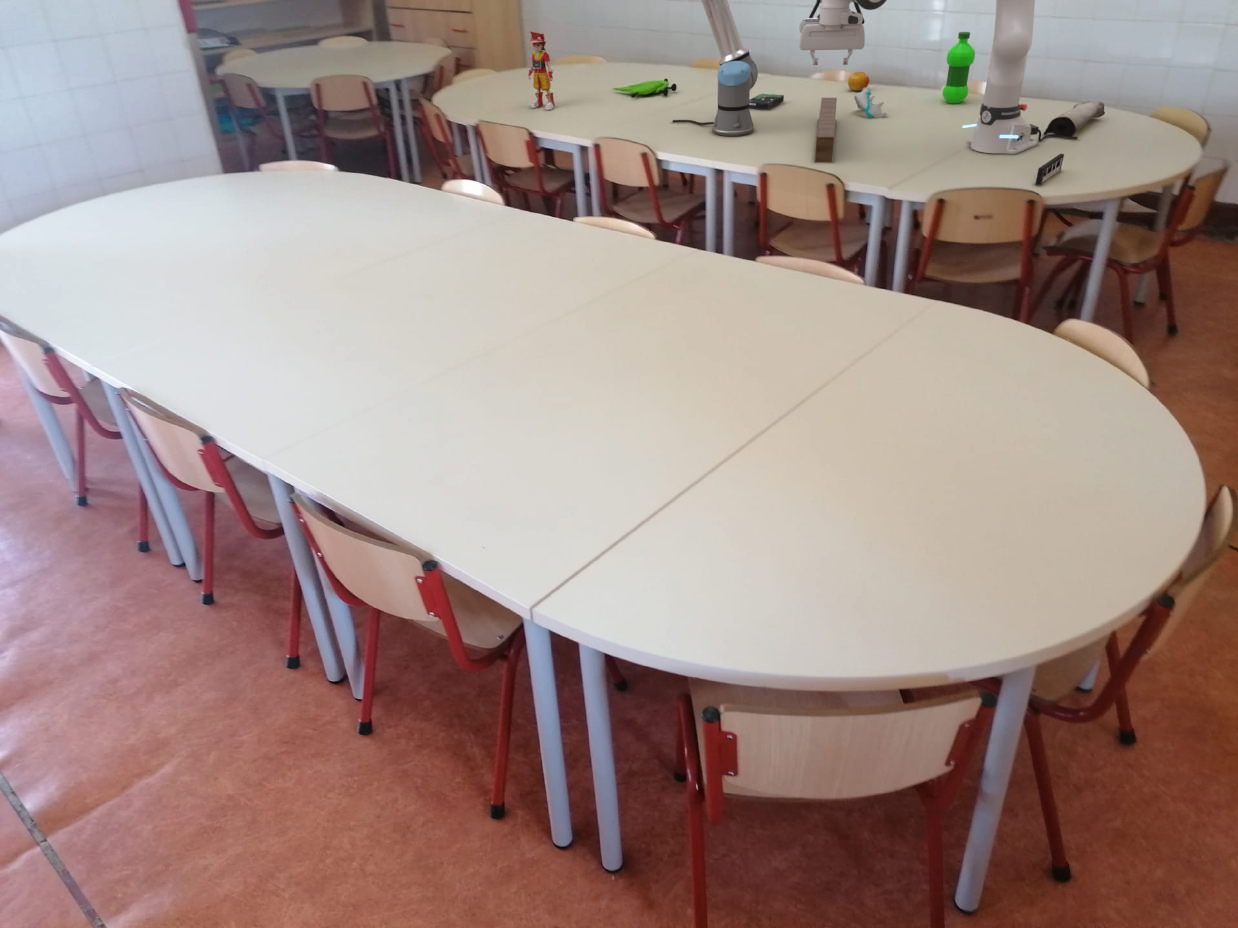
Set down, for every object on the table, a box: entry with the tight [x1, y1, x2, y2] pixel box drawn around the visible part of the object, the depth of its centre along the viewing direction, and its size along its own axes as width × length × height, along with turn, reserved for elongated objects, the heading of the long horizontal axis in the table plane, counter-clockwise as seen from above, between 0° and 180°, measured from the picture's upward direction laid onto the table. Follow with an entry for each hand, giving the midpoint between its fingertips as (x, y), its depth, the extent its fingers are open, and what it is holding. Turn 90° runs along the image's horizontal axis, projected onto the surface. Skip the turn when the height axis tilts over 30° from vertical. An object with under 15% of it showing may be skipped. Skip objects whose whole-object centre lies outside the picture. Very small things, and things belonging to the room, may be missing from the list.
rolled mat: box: [1043, 100, 1106, 137], centre depth 316 cm, size 30×9×10 cm
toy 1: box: [527, 31, 556, 111], centre depth 374 cm, size 12×9×30 cm
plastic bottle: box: [942, 31, 976, 104], centre depth 348 cm, size 10×10×25 cm
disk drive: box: [749, 93, 785, 110], centre depth 365 cm, size 10×3×15 cm
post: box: [814, 97, 838, 163], centre depth 319 cm, size 54×6×8 cm, turn 168°
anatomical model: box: [853, 87, 888, 119], centre depth 345 cm, size 15×10×10 cm
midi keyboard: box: [1035, 153, 1065, 186], centre depth 273 cm, size 18×1×5 cm, turn 138°
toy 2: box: [612, 78, 677, 99], centre depth 396 cm, size 28×5×30 cm
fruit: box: [847, 71, 870, 92], centre depth 377 cm, size 8×8×8 cm
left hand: (833, 46), depth 323 cm, fingers open, 13 cm apart
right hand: (830, 64), depth 287 cm, fingers open, 8 cm apart
